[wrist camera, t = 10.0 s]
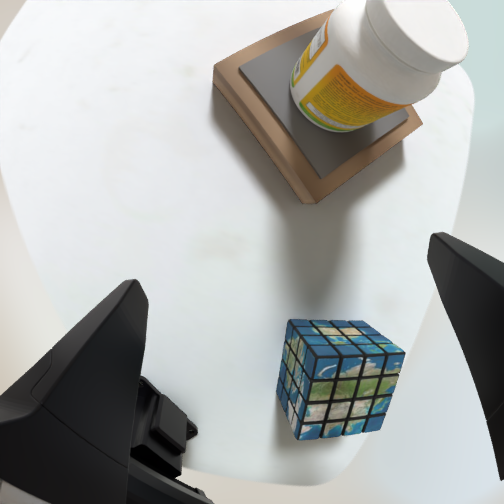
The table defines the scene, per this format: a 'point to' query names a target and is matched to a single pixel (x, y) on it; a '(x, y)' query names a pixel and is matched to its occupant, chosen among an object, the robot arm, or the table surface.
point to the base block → (301, 115)
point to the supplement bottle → (376, 60)
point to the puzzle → (336, 377)
